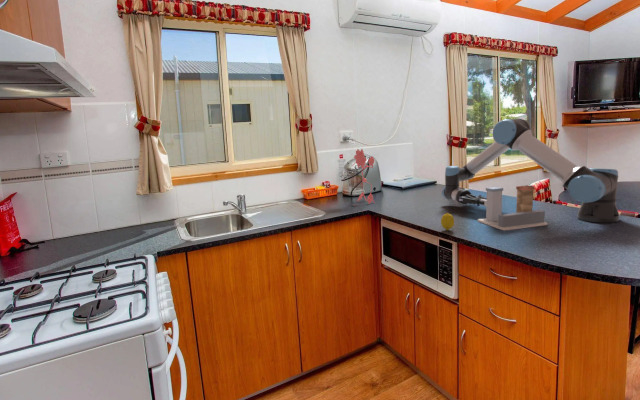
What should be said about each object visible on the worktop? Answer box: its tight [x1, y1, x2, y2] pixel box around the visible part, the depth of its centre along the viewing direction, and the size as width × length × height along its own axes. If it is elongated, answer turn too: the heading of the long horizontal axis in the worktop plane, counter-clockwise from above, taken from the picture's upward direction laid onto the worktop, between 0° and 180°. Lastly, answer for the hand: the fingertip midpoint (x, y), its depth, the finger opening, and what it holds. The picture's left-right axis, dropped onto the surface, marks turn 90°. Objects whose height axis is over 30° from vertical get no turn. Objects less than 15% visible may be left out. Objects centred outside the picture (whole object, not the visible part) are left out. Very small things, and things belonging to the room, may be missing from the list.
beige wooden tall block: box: [515, 185, 536, 213], centre depth 166 cm, size 5×6×15 cm
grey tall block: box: [485, 186, 504, 221], centre depth 167 cm, size 5×6×15 cm
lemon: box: [440, 212, 455, 231], centre depth 160 cm, size 6×6×8 cm
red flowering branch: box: [351, 148, 376, 207], centre depth 229 cm, size 15×26×35 cm, turn 26°
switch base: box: [477, 209, 548, 231], centre depth 166 cm, size 18×22×6 cm
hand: (489, 204), depth 175 cm, fingers closed
